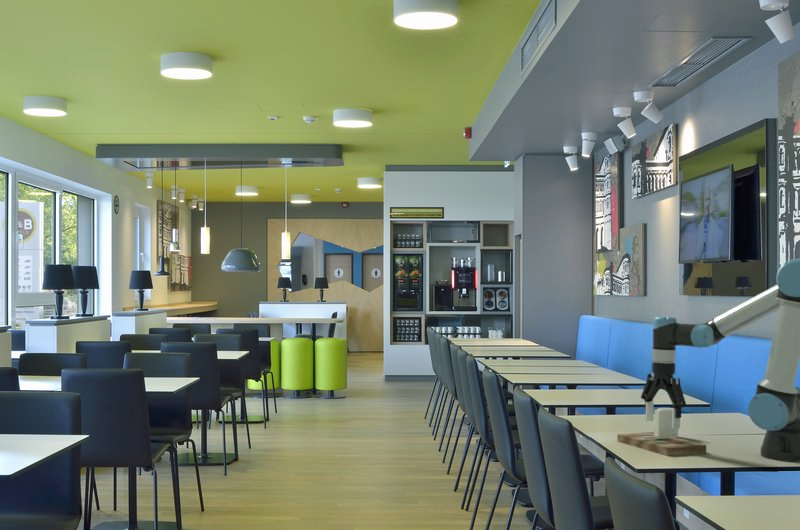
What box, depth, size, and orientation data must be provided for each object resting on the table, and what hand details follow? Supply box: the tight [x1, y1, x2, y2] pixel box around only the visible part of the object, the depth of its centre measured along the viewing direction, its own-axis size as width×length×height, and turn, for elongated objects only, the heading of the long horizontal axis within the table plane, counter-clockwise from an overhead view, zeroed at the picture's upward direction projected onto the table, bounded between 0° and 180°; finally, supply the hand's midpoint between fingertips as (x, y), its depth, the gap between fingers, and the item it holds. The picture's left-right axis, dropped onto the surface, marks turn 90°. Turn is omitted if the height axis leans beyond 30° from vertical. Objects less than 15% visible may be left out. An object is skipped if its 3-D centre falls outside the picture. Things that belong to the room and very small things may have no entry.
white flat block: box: [642, 409, 672, 439], centre depth 284 cm, size 2×11×10 cm, turn 112°
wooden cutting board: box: [616, 431, 707, 457], centre depth 284 cm, size 26×16×3 cm, turn 22°
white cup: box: [657, 407, 680, 438], centre depth 304 cm, size 8×8×10 cm
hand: (662, 424), depth 285 cm, fingers open, 13 cm apart
